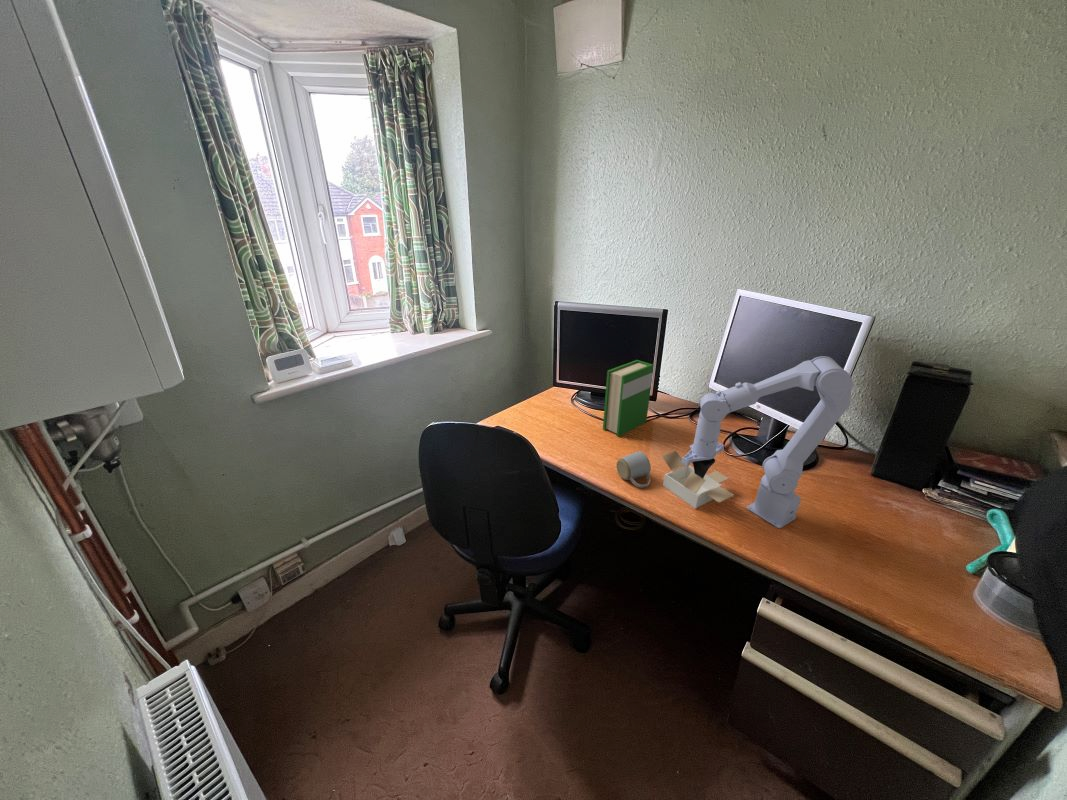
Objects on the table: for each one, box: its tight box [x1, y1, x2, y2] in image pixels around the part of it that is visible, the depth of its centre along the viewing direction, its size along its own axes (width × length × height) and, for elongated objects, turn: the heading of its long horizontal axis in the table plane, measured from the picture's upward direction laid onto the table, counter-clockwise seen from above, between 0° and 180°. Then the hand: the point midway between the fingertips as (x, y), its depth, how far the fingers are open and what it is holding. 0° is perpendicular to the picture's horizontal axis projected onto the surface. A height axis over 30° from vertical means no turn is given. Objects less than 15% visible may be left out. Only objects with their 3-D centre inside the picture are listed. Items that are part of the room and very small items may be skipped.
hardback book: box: [602, 359, 655, 438], centre depth 150 cm, size 18×7×24 cm, turn 131°
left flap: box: [682, 472, 705, 493], centre depth 112 cm, size 4×4×1 cm
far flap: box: [661, 450, 685, 471], centre depth 123 cm, size 5×6×1 cm
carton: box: [662, 465, 734, 510], centre depth 117 cm, size 16×15×4 cm
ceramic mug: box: [616, 450, 652, 489], centre depth 123 cm, size 11×8×8 cm
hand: (698, 478), depth 113 cm, fingers closed, pressing on left flap
